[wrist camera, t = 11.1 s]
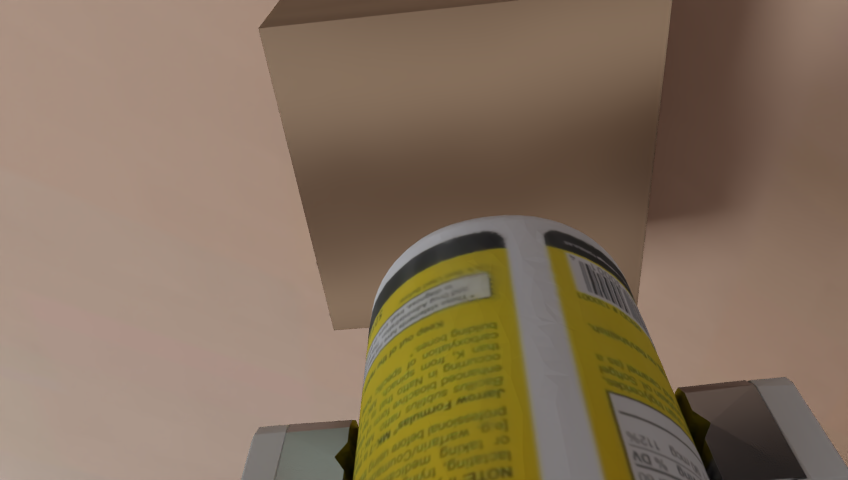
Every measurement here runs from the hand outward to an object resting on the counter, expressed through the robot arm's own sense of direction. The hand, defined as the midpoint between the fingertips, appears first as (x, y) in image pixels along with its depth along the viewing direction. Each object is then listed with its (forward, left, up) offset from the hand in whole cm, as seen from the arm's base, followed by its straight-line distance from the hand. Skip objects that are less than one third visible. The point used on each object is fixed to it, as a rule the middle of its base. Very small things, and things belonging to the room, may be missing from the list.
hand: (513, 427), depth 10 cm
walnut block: (0, 0, -12) cm, 12 cm away
